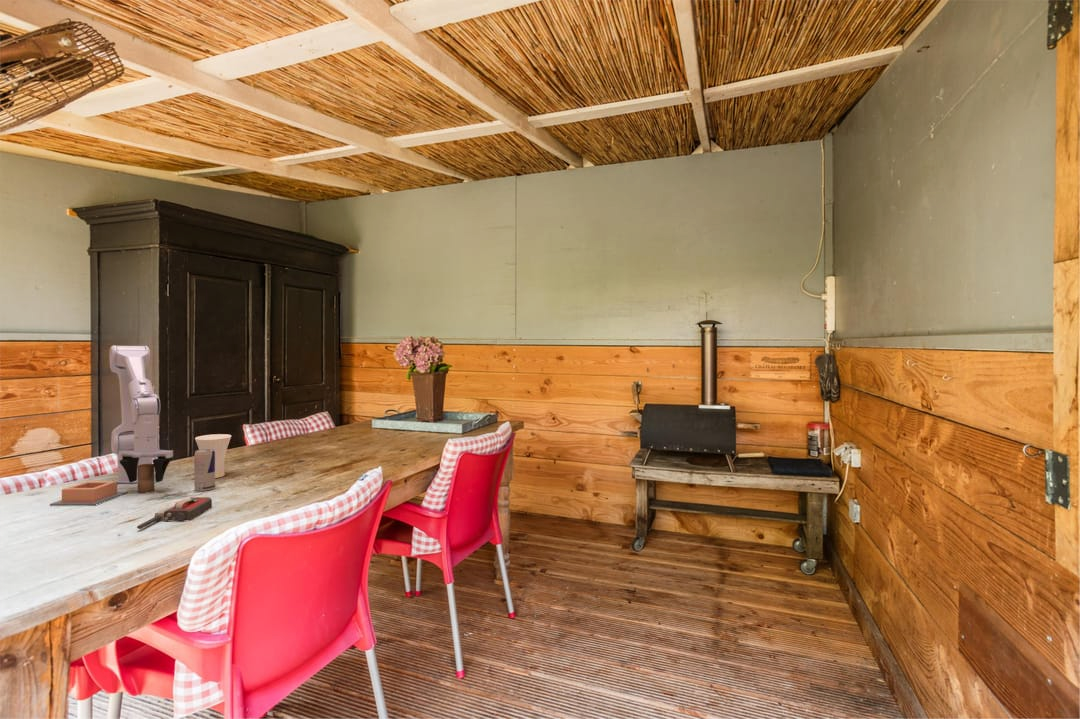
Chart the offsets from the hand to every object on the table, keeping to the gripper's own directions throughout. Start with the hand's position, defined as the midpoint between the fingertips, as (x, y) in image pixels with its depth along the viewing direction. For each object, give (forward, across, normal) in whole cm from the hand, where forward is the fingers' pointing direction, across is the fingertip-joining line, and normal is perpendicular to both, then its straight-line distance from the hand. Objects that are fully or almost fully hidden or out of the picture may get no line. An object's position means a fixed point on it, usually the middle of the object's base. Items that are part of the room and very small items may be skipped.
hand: (146, 481), depth 158 cm
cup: (+3, +10, +18) cm, 21 cm away
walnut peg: (+3, 0, 0) cm, 3 cm away
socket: (+3, -10, -8) cm, 13 cm away
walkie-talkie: (+4, +24, -25) cm, 35 cm away
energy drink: (+3, +16, +2) cm, 16 cm away
